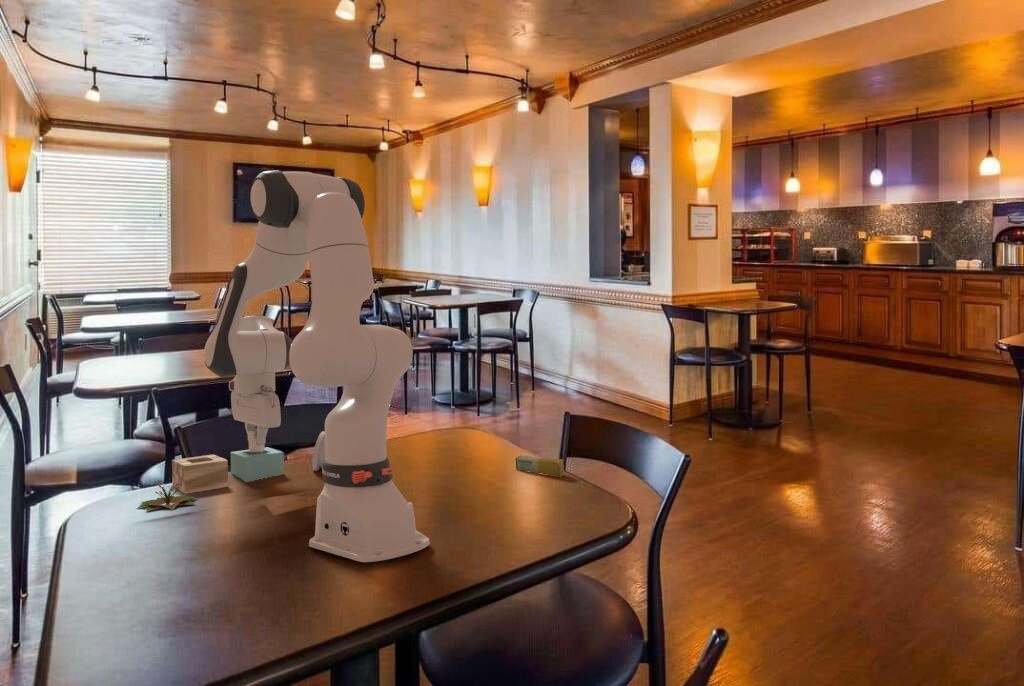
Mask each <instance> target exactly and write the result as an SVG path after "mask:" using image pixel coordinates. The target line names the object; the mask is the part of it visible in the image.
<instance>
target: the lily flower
mask: <svg viewBox="0 0 1024 686" xmlns="http://www.w3.org/2000/svg"><path fill="white" fill-rule="evenodd" d="M174 483H175V482H174ZM174 483H173V482H172V485H171V486H169V485H168V488H167V489H165V487H164V486H161V484H157V486H158V487H159V488H160V489H162V491H161V490H159V491H155V494H157V495H159V496H160V497H157V498H156V499H149V500H145V501H141V504H140V505H139V506H137V507H136V509H139V508H143V507H146V513H147V512H150V511H154V510H157V509H158V508H159V506H162V509H163V508H167V509H170V510H172V511H173V510H175V509H176V507H177V506H179V505H180V506H181V505H183V506H186V505H187V506H188V505H189V506H190V505H195V503H194V502H193V501H192V500H197V498H196V497H192V496H189V495H188V494H186V495H178V496H174V495H175V494H176V493H178V492H179V490H178V489H177V490H175V487H174V485H173V484H174ZM177 485H179V483H178V484H177ZM169 487H170V488H169ZM172 492H173V493H172Z"/></svg>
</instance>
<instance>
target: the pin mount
mask: <svg viewBox="0 0 1024 686" xmlns="http://www.w3.org/2000/svg"><path fill="white" fill-rule="evenodd" d="M228 464H229V461H228V459H226V458H224V457H221V456H219V455H216V454H207V455H206V454H205V455H201V456H200V455H199V456H193V457H185V458H177V459H171V468H172V469H171V470H172V471H171V472H172V473H171V475H172V482H171V483H172V486H173V485H174V486H175V487H174V489H176V488H177V490H178V491H180V492H182V493H183V494H186V495H188V494H193V493H199V492H206V491H211V490H214V489H215V490H216V489H222V488H223V489H224V488H227V487H229V469H228V468H229V465H228ZM174 482H175V483H174ZM173 483H174V484H173ZM178 483H179V485H177V484H178Z"/></svg>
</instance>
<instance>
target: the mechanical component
mask: <svg viewBox="0 0 1024 686" xmlns="http://www.w3.org/2000/svg"><path fill="white" fill-rule="evenodd" d="M315 442H316V443H315V445H314V449H313V454H312V463H311V464H312V465H311V466H312V471H313V470H314V472H315V471H316V472H317V471H320V469H322V468H323V462H324V461H325V430H324V431H321V432H320V433H319V435H318V437H317V439H316V441H315Z"/></svg>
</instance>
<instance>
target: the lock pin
mask: <svg viewBox="0 0 1024 686" xmlns="http://www.w3.org/2000/svg"><path fill="white" fill-rule="evenodd" d="M248 433H249V441H248V450H249V454H250V455H254V454H261V453H265V444H266V443H265V444H262V445H259V444H257V443H256V437H257V433H258V430H257V429H255V430H250V431H248Z"/></svg>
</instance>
